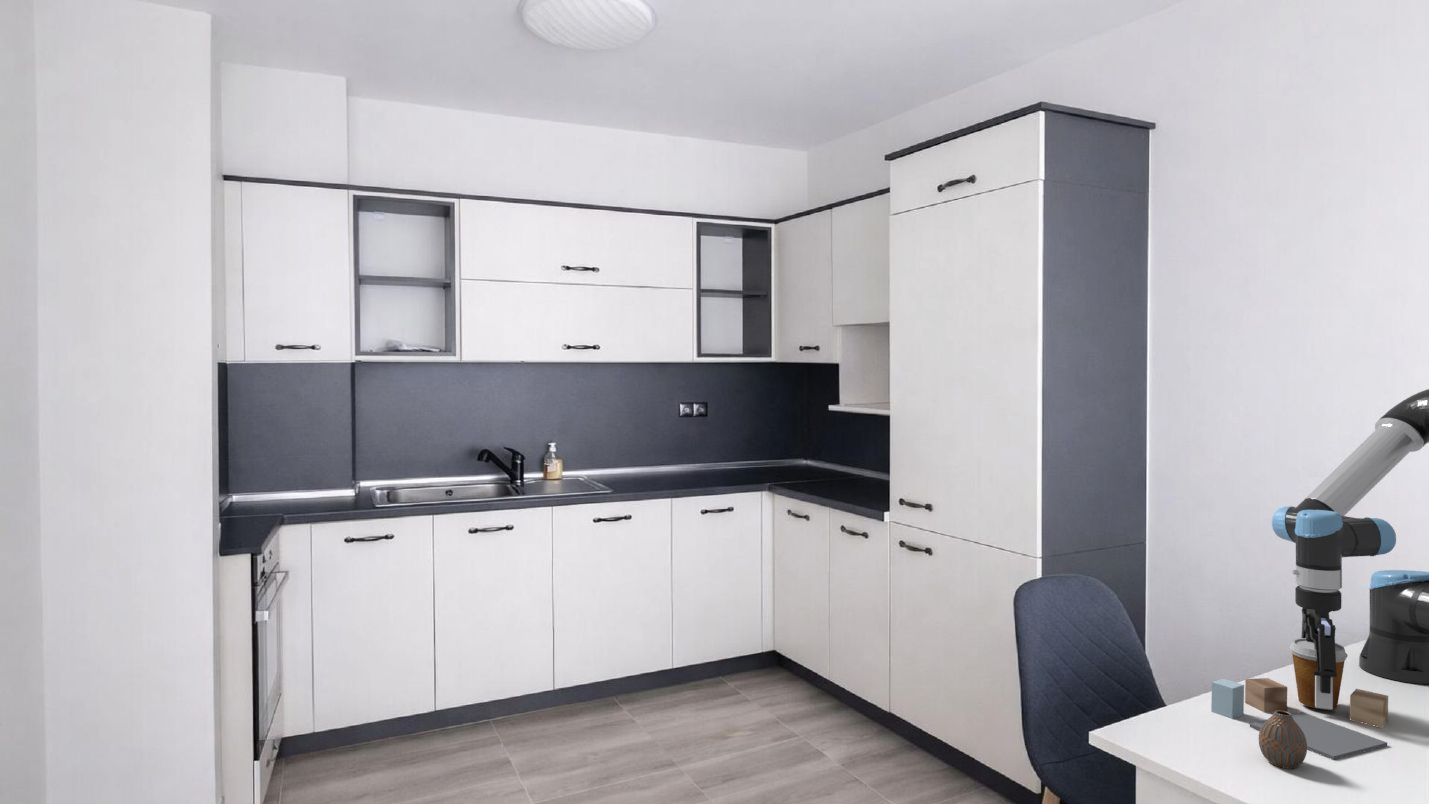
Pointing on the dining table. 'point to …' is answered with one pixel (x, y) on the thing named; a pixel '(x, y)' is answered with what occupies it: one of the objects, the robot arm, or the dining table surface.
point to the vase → (1282, 740)
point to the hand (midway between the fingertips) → (1317, 699)
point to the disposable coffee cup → (1313, 670)
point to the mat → (1331, 737)
